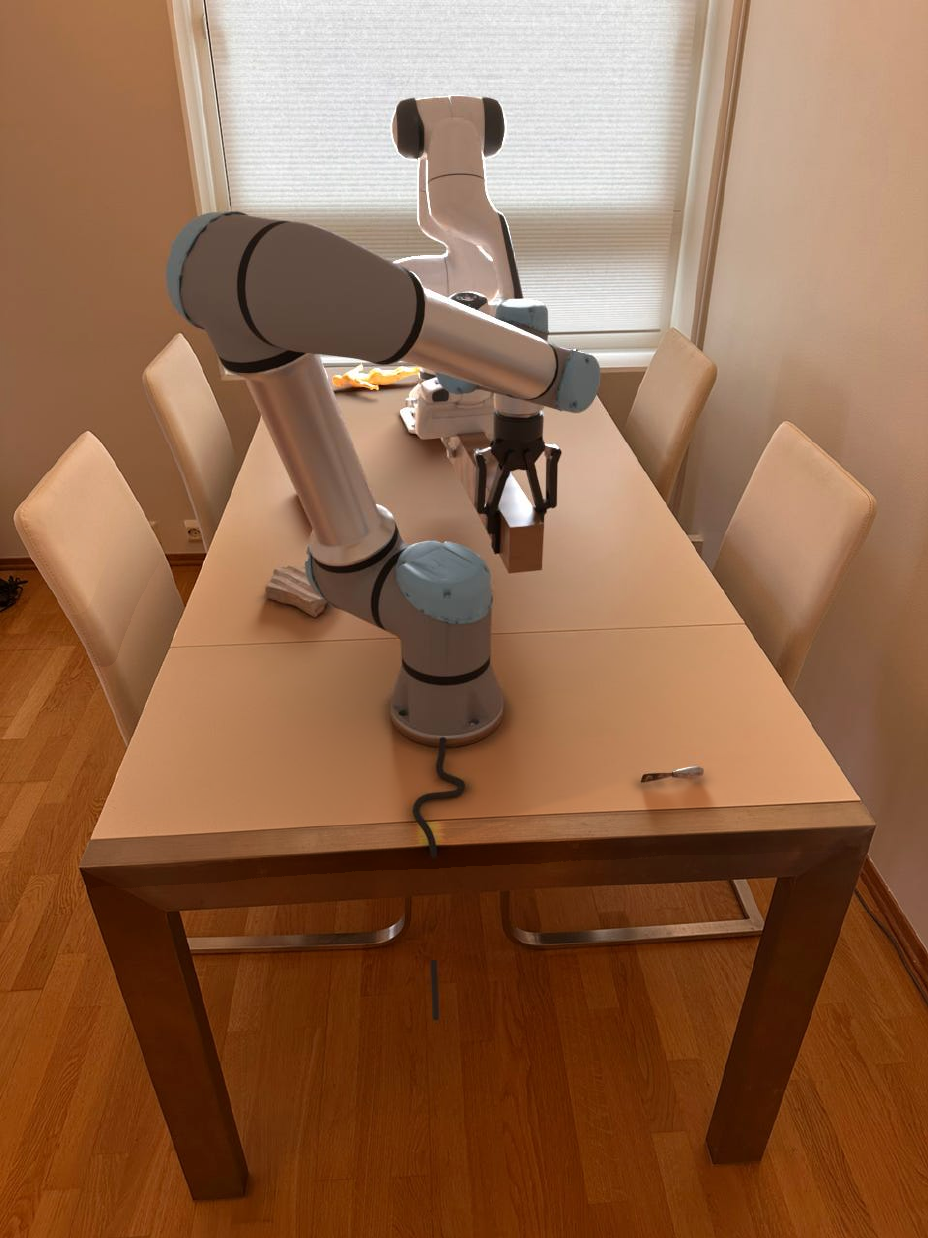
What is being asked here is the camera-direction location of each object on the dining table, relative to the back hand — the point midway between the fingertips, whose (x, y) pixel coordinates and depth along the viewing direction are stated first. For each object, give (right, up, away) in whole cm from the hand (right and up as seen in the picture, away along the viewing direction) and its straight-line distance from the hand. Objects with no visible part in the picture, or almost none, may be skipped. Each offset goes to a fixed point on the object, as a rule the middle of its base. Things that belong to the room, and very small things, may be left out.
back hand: (468, 455), depth 174 cm
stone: (-27, -28, -26) cm, 47 cm away
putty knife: (+25, -52, -64) cm, 86 cm away
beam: (+4, -12, -13) cm, 18 cm away
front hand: (+7, -20, -29) cm, 36 cm away
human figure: (-24, +32, +70) cm, 81 cm away
